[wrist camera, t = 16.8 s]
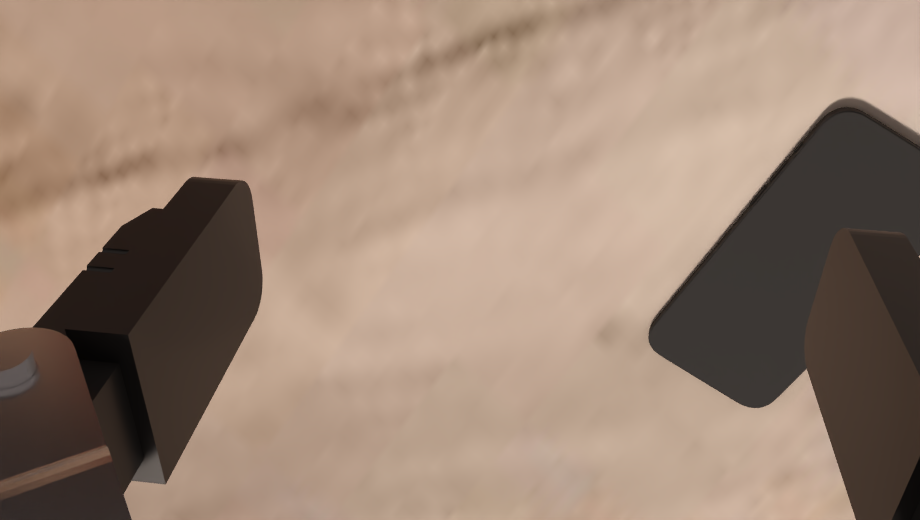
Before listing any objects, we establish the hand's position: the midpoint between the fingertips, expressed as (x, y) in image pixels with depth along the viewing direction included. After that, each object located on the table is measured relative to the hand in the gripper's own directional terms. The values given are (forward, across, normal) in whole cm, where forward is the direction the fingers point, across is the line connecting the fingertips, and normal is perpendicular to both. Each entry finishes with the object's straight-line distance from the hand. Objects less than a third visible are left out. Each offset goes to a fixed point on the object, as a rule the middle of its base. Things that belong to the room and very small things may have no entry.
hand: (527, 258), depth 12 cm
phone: (+26, -12, +16) cm, 33 cm away
